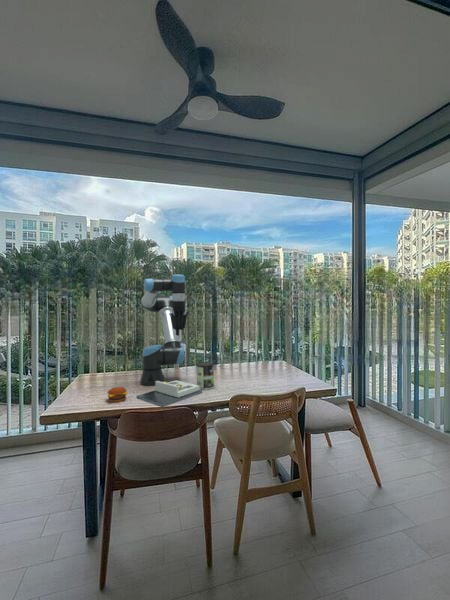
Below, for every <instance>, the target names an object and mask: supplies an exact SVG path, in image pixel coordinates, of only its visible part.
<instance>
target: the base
mask: <svg viewBox="0 0 450 600" xmlns="http://www.w3.org/2000/svg"><path fill="white" fill-rule="evenodd" d="M162 382H164V383H168V381H167V380H165V381H162ZM176 386H179V391H180V388H182V385H176ZM200 394H203V389H200V390H199V391H196V392H193V393H190V394H187V395H184V396H181V397H179V398H178V397H175V396H171V395H168V394H164V393H161V392H157V391H154V390H152V391H148V392H145V393H141V394H137V395H136V399H139V400H141V401H145V402H147V403H151V404H153V405H156V406H159V407H161V408H163V407H166V406H169V405H172V404H175V403H177V402H180V401H183V400H186V399H189V398H191V397H194V396H197V395H200Z"/></svg>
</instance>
